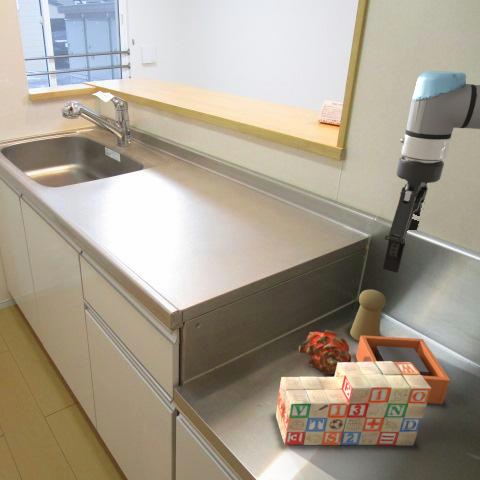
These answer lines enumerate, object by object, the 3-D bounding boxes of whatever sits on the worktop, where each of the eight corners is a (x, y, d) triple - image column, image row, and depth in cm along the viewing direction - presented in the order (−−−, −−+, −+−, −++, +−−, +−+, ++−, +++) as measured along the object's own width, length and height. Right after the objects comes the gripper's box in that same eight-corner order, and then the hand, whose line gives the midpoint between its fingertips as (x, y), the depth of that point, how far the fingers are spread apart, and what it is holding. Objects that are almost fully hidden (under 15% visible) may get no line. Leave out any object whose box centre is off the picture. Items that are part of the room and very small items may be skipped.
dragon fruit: (337, 395, 86) (305, 363, 97) (371, 367, 86) (335, 338, 97) (315, 368, 83) (285, 337, 95) (350, 338, 83) (316, 311, 94)
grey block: (409, 366, 90) (414, 347, 89) (423, 390, 84) (429, 372, 82) (372, 363, 91) (376, 345, 89) (384, 388, 85) (388, 369, 83)
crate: (416, 361, 93) (422, 338, 90) (442, 404, 82) (450, 380, 79) (355, 357, 94) (360, 335, 92) (373, 399, 83) (379, 375, 81)
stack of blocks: (284, 446, 74) (292, 388, 69) (275, 417, 80) (282, 361, 74) (414, 445, 74) (432, 387, 69) (396, 416, 79) (411, 360, 74)
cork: (377, 346, 97) (387, 303, 92) (347, 338, 100) (356, 295, 95) (381, 332, 102) (390, 290, 97) (352, 324, 105) (361, 283, 100)
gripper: (414, 143, 97) (393, 234, 105) (384, 169, 79) (362, 275, 88) (454, 148, 92) (429, 242, 101) (432, 176, 75) (404, 287, 83)
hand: (398, 258), depth 94 cm, fingers open, 13 cm apart
